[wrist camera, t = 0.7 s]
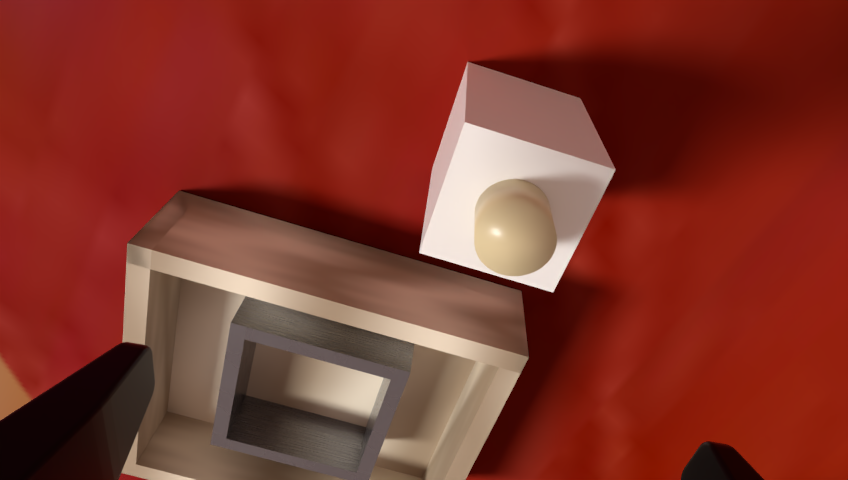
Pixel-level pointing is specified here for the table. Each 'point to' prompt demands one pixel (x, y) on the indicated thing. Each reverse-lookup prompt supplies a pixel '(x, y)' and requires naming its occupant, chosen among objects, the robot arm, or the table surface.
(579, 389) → the table surface
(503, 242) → the connector plug
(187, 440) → the socket box
